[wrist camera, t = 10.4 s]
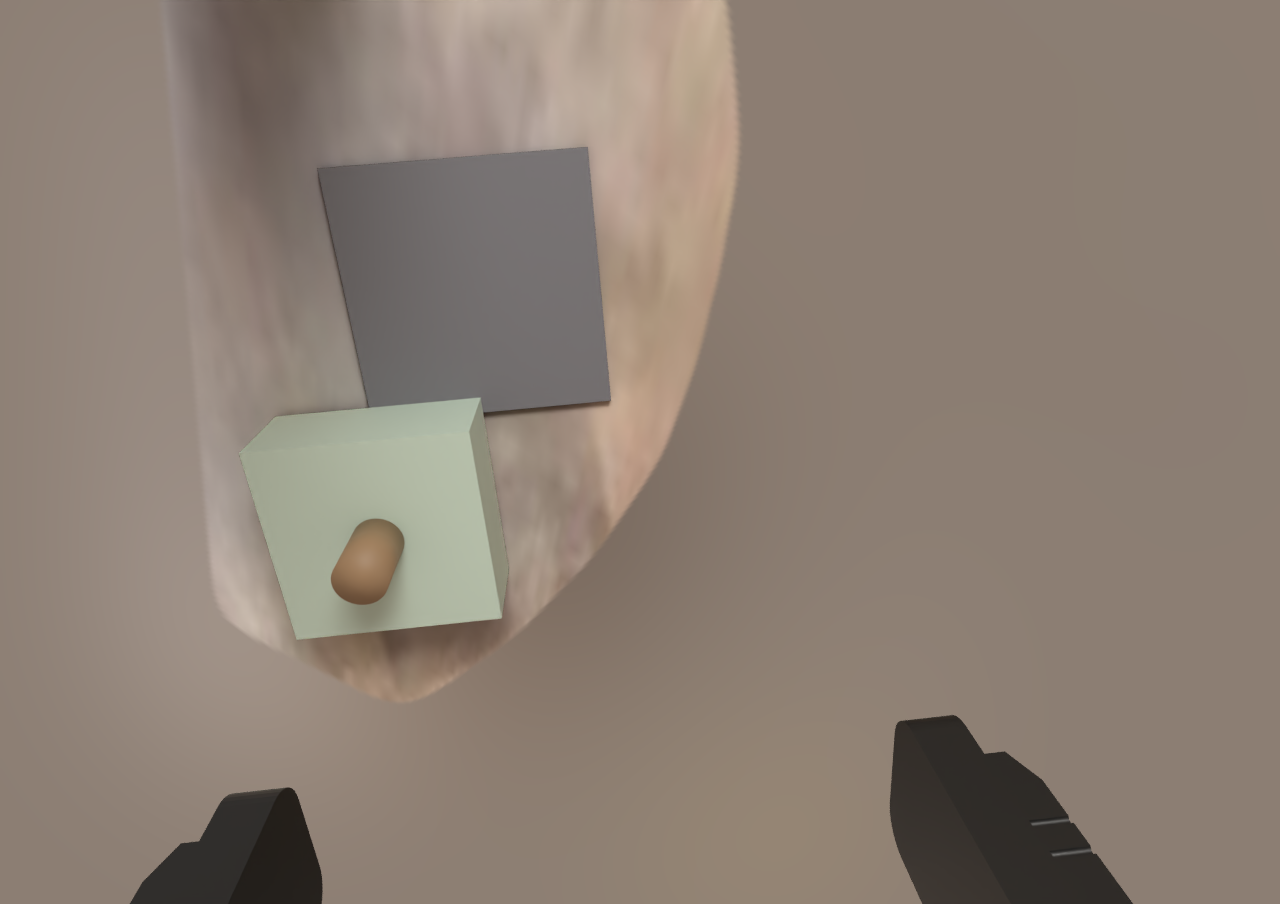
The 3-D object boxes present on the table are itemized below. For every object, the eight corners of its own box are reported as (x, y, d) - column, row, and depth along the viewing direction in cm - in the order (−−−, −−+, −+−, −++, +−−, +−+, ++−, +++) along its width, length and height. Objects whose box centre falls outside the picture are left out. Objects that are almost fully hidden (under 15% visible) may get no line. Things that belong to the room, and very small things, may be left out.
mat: (319, 168, 40) (317, 168, 40) (587, 146, 41) (587, 147, 40) (374, 420, 45) (372, 422, 45) (610, 398, 46) (610, 400, 46)
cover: (275, 416, 44) (204, 487, 36) (480, 397, 45) (458, 463, 36) (324, 588, 49) (271, 687, 41) (508, 569, 50) (495, 663, 41)
